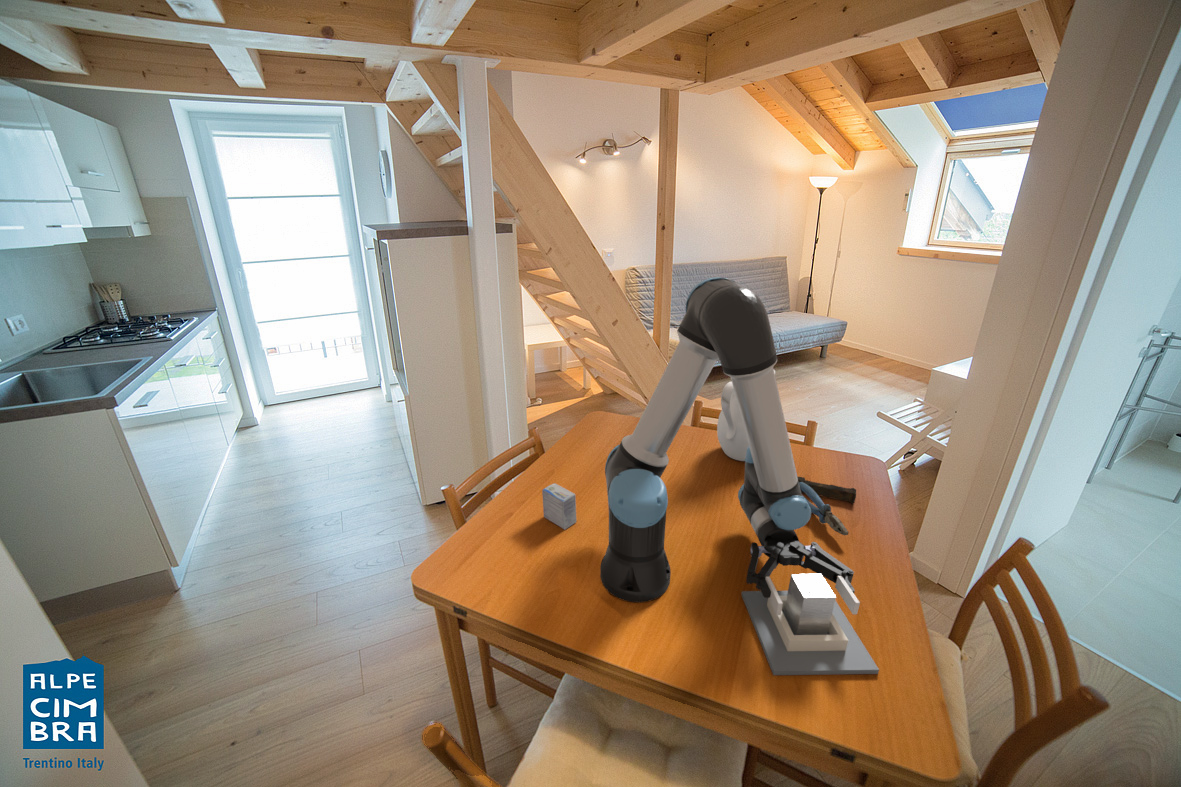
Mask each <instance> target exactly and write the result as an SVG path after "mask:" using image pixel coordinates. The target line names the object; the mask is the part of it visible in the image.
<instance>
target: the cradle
mask: <svg viewBox="0 0 1181 787" xmlns="http://www.w3.org/2000/svg"><path fill="white" fill-rule="evenodd" d="M776 591H777V593H778V595H779V597H780V599H781V601H782V603H783V605H782V610H781V615H776V613H775V611H774V609H773V607H772V604H771V602H770V600H769V598H765V597H764V596H763V595H762V592H761V590H742V591H741V598H742V601H743V602H744V605H745V607H746V610H747V613H748V615H749V618H750V620H751V623H752V625H753V628H754V630H755V632H756V635H757V638H758V640H759V642H760V645H761V648H762V651H763V653H764V655H765V658H766V660H767V663H768V665H769V668H770V671H771V673H772V676H805V675H806V676H809V675H811V676H814V675H816V676H817V675H818V676H819V675H821V676H823V675H829V676H830V675H878V674H879V671H880V668H879V667H878V665H877V664H876V662H875V660H874V659H873V658H872V656H871V655H870V653H869V651H868V650H867V648H866V646H865V644H863V642H862V640H861V639H860V636H859V635H858V633H857V631H855V629H854V628H853V626H852V624H851V623H850V620H848V618H847V616H846V615H845V613H844V611H843V610H842V609H841V606H840V605H839V604H838V602H837V599H835V603H834V607H833V611H832V616H831V620H830V624H829V628H828V632H827V635H793V633H792V631H791V629H790V626H789V624H788V622H787V620H786V618H785V616H784V609H785V604H786V599H787V593H788V590H776Z"/></svg>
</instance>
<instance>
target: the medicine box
mask: <svg viewBox="0 0 1181 787" xmlns="http://www.w3.org/2000/svg"><path fill="white" fill-rule="evenodd" d="M541 492H542V494H541V495H542V507H543V508H542V509H543V517H544V518H545V519H547V520H548V521H550V522H551V523H553V524H555V525H557V526H558V527H560V528H561V529H563V530H567V529H568V528H570V527H571V526H573V525H574V524H576V523H577V501H576V494H575V493H574V492H573V491H570V490H568V489H567V488H565V487H563V486H561V485H559V484H557V483H552V484H549V485H548V486H546V487H545V488H544V487H543V489H542V490H541Z"/></svg>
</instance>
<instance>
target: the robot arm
mask: <svg viewBox="0 0 1181 787" xmlns="http://www.w3.org/2000/svg"><path fill="white" fill-rule="evenodd" d="M676 334H677V336H678V339H679V342H678V344H677V346H676V348H675V350H674V351H673V354H672V356H671V358H670V359H669V362H668V364H667V366H665V369H664V372H663V373H662V375H661V377H660V379H659V382H658V383H657V385H656V388H655V389H654V391H653V392H652V395H651V397H650V399H649V401H648V403H647V405H646V407H645V409H644V410H643V413H642V414H641V416H640V418H639V421H638V422H637V424H636V426H635V429H634V430H633V432H632V434H629V435H625V436H624V437H623V438H622V439H621V441H620V443H619V444H618V445H616V446H615V447H613V449H612V450H610V452H609V454H608V456H607V458H606V461H605V466H604V472H605V473H604V475H605V481H606V482H605V483H606V492H607V504H608V506H607V507H608V545H607V548H606V551H605V553H604V555H603V557H602V560H601V562H600V568H599V569H600V570H599V572H600V576H599V577H600V582H601V584H602V585H603V587H604V588H605V590H606V591H607V592H608V593H609V594H611V595H612V596H614V597H615V598H618V599H620V600H622V601H626V602H628V603H629V602H632V603H645V602H646V603H647V602H650V601H651V602H652V601H653V600H655V599H656V600H657V599H658V598H660V597H661V596H662V595H664V594H665V593H666V591H667V590H668V588H669V587H670V583H671V573H672V572H671V566H670V562H669V560H668V557H667V553H666V550H665V538H666V537H665V536H666V520H667V509H668V503H669V499H668V492H667V491H668V490H667V486H666V483H665V482H664V481H663V479H662V475H663V473H664V472H665V470H666V468H667V466H668V464H669V461H670V460H669V456H668V454H667V452H668V450H669V448H670V447H671V445H672V443H673V441H674V439H675V437H676V436H677V433H678V432H679V430H680V428H681V426H682V424H683V423H684V421H685V419H686V417H687V416H688V413H689V412H690V410H691V408H692V406H693V404H694V402H695V401H696V399H697V397H698V395H699V394H700V392H701V390H702V388H703V386H704V384H705V383H706V381H707V379H708V377H709V376H710V374H711V372H712V370H713V368H714V366H715V365H716V362H717V361H718V360H719V362H720V364H721V368H722V372H723V374H724V375H725V376H728V377H730V380H731V381H730V382H732V384H733V388H734V392H735V395H736V399H737V403H738V407H739V410H740V414H741V418H742V422H743V425H744V429H745V433H746V437H747V440H748V444H749V446H748V448H747V450H746V457H745V461H744V475H743V476H744V478H743V479H744V480H743V481H744V482H743V484H742V485H741V487H740V488H739V489H738V492H737V493H738V494H737V498H738V500H739V505H740V507H741V509H742V511H743V512H744V513H745V516H746V517H747V520H748V521H749V523H750V525H751V527H752V529H753V531H754V533H755V535H756V536H757V538H758V541H759V543H760V545H759V544H758V543H757V542H755V541H754V542H751V545H750V551H749V552H750V562H749V565H748V569H747V573H746V580H745V583H746V584H748V585H753V584H756V586H755V587H756V589H757V590H758V591H761V592H762V595H763V596H764V597H765V598H769V600H770V602H771V604H772V607H773V609H774V611H775V613H776V615H781V610H782V605H783V603H782V601H781V599H780V597H779V595H778V593H777V591H778V590H777V589H776V586H775V584H774V582H773V580H772V579H771V577H770V576H771V575H772V573H773V572H774V570H775V569H776V568H777V566H778V565H782V566H785V567H786V566H787V567H788V566H800V567H801V568H803V569H809V570H810V571H813V572H814V573H815V574H821V575H822V576H823V578H824V579H827V580H829V581H831V582H833V583H834V584H835V586H834V588H835V589H836V591H837V592H838V594H839V595H840V597H841V598H842V600H843V602H844V603H845V606H847V608H848V609H849V611H850V612H851V614H852V615H858V611H859V609H860V608H859V607H860V605H861V601H860V600H859V599H858V598H857V596H856V595H855V588H854V586H853V585H852V582H853V577H854V573H855V571H854V570H853V569H851V568H850V567H849V566H847V565H845V563H843V562H842V561H840V560H838V558H836V557H834V556H833V555H831V554H830V553H829V552H827V551H825V550H824V549H823V548H822V547H821V546H820V545H819V543H817V542H815V541H811V543H810V545H804V544H803V542H801V541H800V540H799V536H798V534H797V532H796V531H795V530H799V529H801V528H803V527H804V526H806V525H807V524H808V522H809V521H810V519H811V517H812V513H811V508H810V506H809V505H808V502H807V500H808V499H807V498H806V497H805V496H804V495H803V493H801V489H800V485H799V481H798V477H799V476H798V473H797V469H796V464H795V460H794V455H793V451H792V446H791V441H790V437H789V433H788V428H787V424H786V420H785V415H784V410H783V405H782V401H781V396H780V391H779V388H778V383H777V379H776V373H775V374H774V370H775V369H774V367H775V365H776V364H777V362H778V355H777V351H776V347H775V341H774V337H773V331H772V328H771V323H770V319H769V315H768V312H767V309H766V307H765V305H764V303H763V301H762V300H761V298H760V297H759V295H758V294H756V292H754V291H753V290H751V289H749V288H747V287H744V286H743V285H741V284H740V283H738V282H736V281H735V280H733V279H729V278H728V277H727V278H726V277H711V278H706V279H704V280H702V281H700V282H698V283H697V284H696V285H695V286H693V288H691V290H690V292H689V294H688V295H687V297H686V303H685V314H684V316H683V318H682V320H681V321H680V323H679V327H678V328H677V331H676ZM797 476H798V477H797ZM803 496H804V497H805V498H806V499H807V500H806V499H805V498H804V497H803ZM763 554H764V555H765V556H766V557H767V560H766V561H765V563H764V564H763V565H762V567H761V569H760V570H759V572H757V573H756V570H757V567H758V562H759V558H761V556H762V555H763ZM803 559H804V561H803Z"/></svg>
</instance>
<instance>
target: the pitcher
mask: <svg viewBox="0 0 1181 787" xmlns="http://www.w3.org/2000/svg"><path fill="white" fill-rule="evenodd" d="M774 374H775V375H776V369H774ZM720 404H721V410H720V413H719V416H718V418H717V426H716V431H717V440H718V443H719V445H720V448H721V449H722V451H723V453H724V454H725V455H726V456H727V457H728V458H730V459H733V460H735V461H740V462H745V457H746V450H747V448H748V446H749V444H748V440H747V437H746V433H745V429H744V425H743V422H742V418H741V414H740V410H739V407H738V403H737V399H736V395H735V392H734V388H733V384H732V381H729V382H727V383H726V384H725V385H724V387H723V389H722V391H721V398H720Z"/></svg>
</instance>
